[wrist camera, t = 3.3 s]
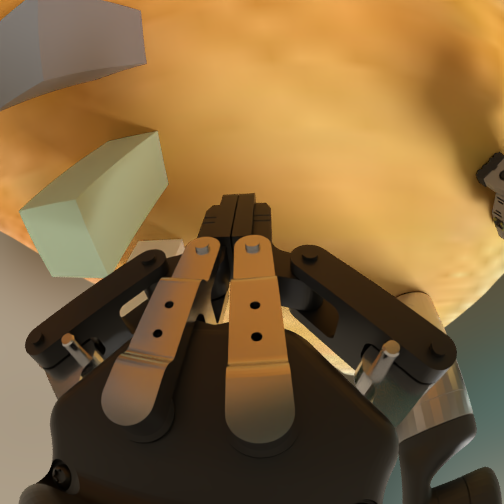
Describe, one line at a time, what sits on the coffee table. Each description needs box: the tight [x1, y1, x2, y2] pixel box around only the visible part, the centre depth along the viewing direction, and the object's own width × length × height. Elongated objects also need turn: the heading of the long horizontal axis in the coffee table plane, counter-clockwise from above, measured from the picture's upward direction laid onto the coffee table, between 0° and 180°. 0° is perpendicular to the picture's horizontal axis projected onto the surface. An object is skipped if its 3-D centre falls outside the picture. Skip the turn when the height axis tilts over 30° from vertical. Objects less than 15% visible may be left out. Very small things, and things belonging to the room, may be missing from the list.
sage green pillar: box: [19, 131, 168, 278], centre depth 17 cm, size 5×5×12 cm
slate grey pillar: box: [0, 0, 146, 111], centre depth 11 cm, size 5×5×12 cm
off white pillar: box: [120, 239, 185, 317], centre depth 24 cm, size 5×5×12 cm
